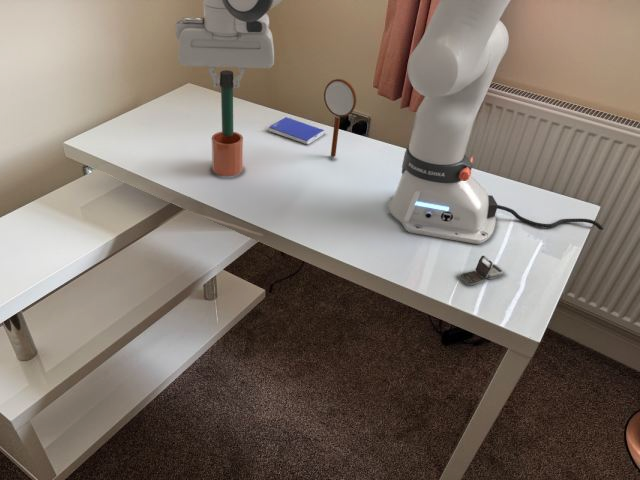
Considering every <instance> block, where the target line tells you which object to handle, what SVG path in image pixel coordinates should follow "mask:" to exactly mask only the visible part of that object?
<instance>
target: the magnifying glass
mask: <svg viewBox="0 0 640 480" xmlns="http://www.w3.org/2000/svg"><path fill="white" fill-rule="evenodd" d="M323 101H324V104H325V106H326V108H327V110H328V111H329V112H330V113H331V114H332V115H334V116H335V117H334V122H333V123H334V125H333V130H332V131H333V132H332V142H331V149H330V157H331V160H334V159H335V157H336V155H337V148H338V147H337V146H338V138H339V132H340V131H339V130H340V124H341V123H340V122H341V118H344V117H347V116H349V115H350V114H352V113H353V112H354V110H355V108H356V105H357V94H356V91H355V89H354V87H353V86H352V84H351V83H349V82H348V81H347V80H345V79H342V78H336V79H333V80H331V81H329V82H328V83H327V85H326V86H325V89H324V92H323Z"/></svg>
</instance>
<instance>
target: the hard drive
mask: <svg viewBox="0 0 640 480" xmlns="http://www.w3.org/2000/svg"><path fill="white" fill-rule="evenodd" d="M268 131H269V132H270V133H273V134H277V135H278V136H279V135H280V136H281V137H284V138H287V139H290V140H294V141H297V142H299V143H301V144H305V145H310V144H311V143H313V142H314V141H316V140H317V139H319V138H321V137H322V136H323V135H325V129H323V128H319V127H317V126H313V125H311V124H308V123H305V122H302V121H299V120H296V119H293V118H290V117H287V116H286V117H284V118H281V119H280V120H278V121H276V122H274V123H272V124H271V125H269V126H268Z"/></svg>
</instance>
